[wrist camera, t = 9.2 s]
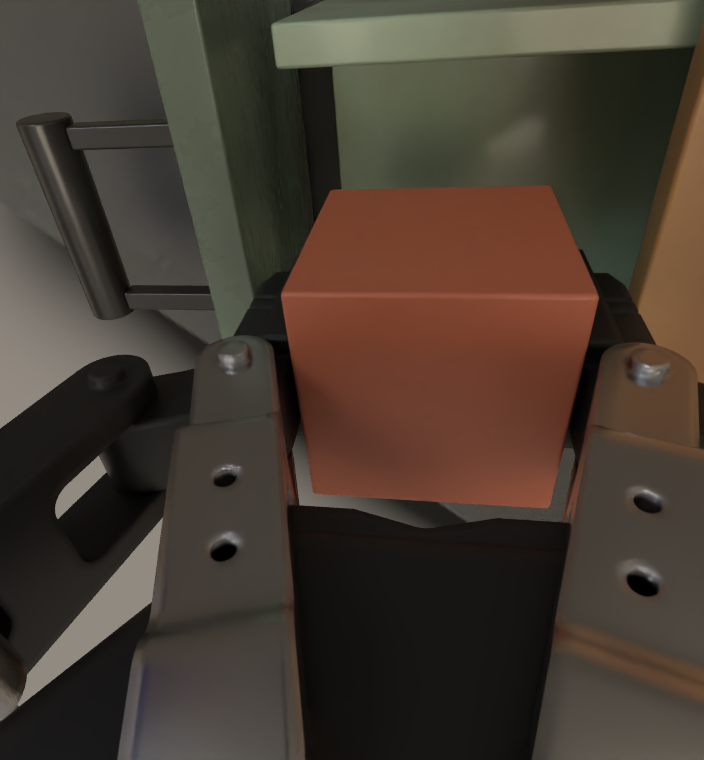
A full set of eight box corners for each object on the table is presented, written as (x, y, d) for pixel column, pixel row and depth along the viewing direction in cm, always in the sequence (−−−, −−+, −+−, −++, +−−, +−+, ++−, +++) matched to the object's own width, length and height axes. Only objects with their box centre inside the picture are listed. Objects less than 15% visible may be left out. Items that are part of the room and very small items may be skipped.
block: (344, 361, 14) (312, 495, 11) (329, 188, 11) (278, 293, 8) (523, 366, 13) (550, 509, 10) (552, 183, 11) (601, 295, 7)
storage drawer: (174, 303, 24) (84, 423, 18) (79, -14, 17) (-120, 7, 11) (633, 309, 21) (707, 452, 15) (739, -66, 15) (951, -74, 8)
